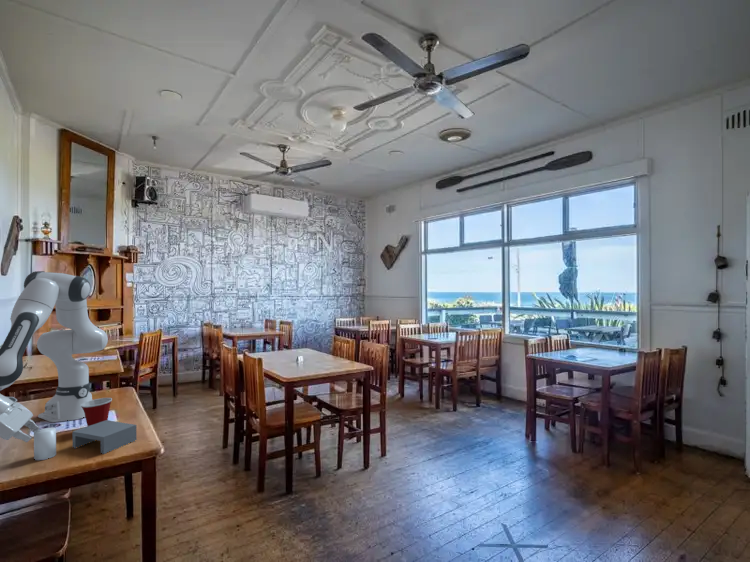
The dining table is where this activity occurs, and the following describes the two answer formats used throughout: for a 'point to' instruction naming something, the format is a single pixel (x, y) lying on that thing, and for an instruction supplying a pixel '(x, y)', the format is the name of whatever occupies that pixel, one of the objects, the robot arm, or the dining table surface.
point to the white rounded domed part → (44, 443)
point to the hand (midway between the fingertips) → (33, 435)
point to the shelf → (106, 435)
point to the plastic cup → (96, 410)
